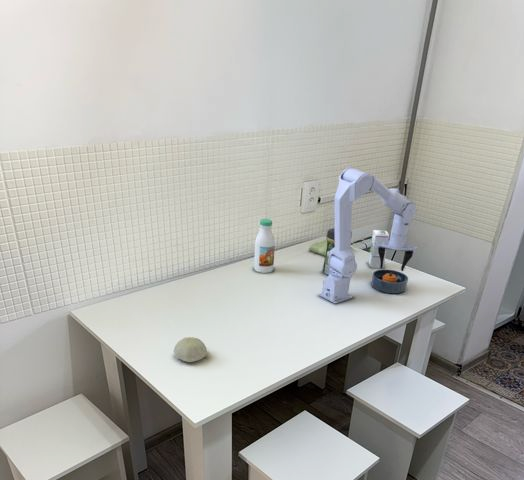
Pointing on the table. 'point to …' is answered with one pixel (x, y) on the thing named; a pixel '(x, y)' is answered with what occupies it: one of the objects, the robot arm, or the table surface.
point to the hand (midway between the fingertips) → (391, 268)
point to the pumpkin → (389, 278)
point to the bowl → (389, 286)
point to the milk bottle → (264, 248)
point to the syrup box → (374, 254)
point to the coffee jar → (330, 246)
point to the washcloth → (319, 247)
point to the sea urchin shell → (190, 349)
